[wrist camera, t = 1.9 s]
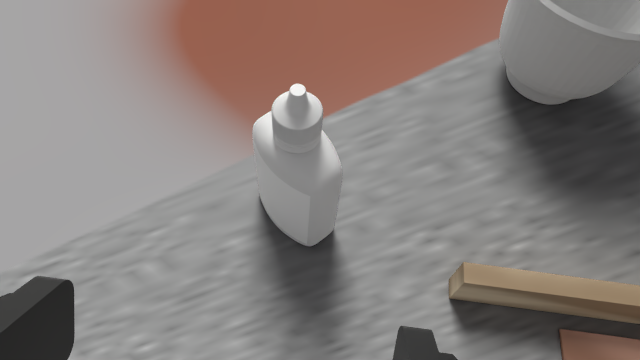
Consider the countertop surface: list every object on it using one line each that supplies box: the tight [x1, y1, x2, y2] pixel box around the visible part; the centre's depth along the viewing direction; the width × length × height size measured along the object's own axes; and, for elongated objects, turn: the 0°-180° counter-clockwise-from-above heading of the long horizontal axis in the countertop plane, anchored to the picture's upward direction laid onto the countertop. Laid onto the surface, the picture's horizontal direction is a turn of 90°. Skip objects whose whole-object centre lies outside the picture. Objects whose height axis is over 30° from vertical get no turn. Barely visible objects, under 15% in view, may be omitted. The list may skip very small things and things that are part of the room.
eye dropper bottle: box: [252, 84, 343, 246], centre depth 27 cm, size 4×6×12 cm
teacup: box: [499, 0, 640, 105], centre depth 35 cm, size 12×15×10 cm
